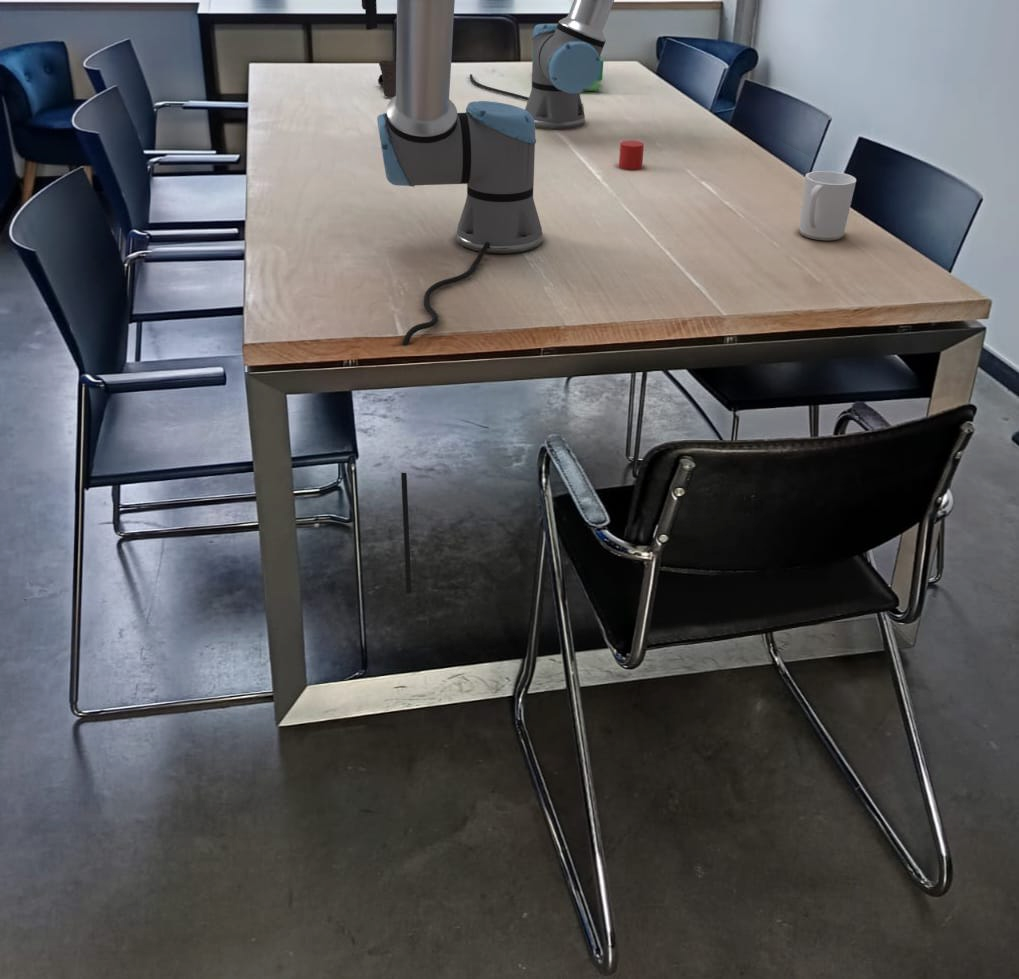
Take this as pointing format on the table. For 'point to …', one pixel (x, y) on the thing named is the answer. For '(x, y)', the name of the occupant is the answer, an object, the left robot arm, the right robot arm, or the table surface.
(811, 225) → the mug
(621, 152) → the red cylinder
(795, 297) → the table surface
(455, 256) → the table surface
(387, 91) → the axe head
